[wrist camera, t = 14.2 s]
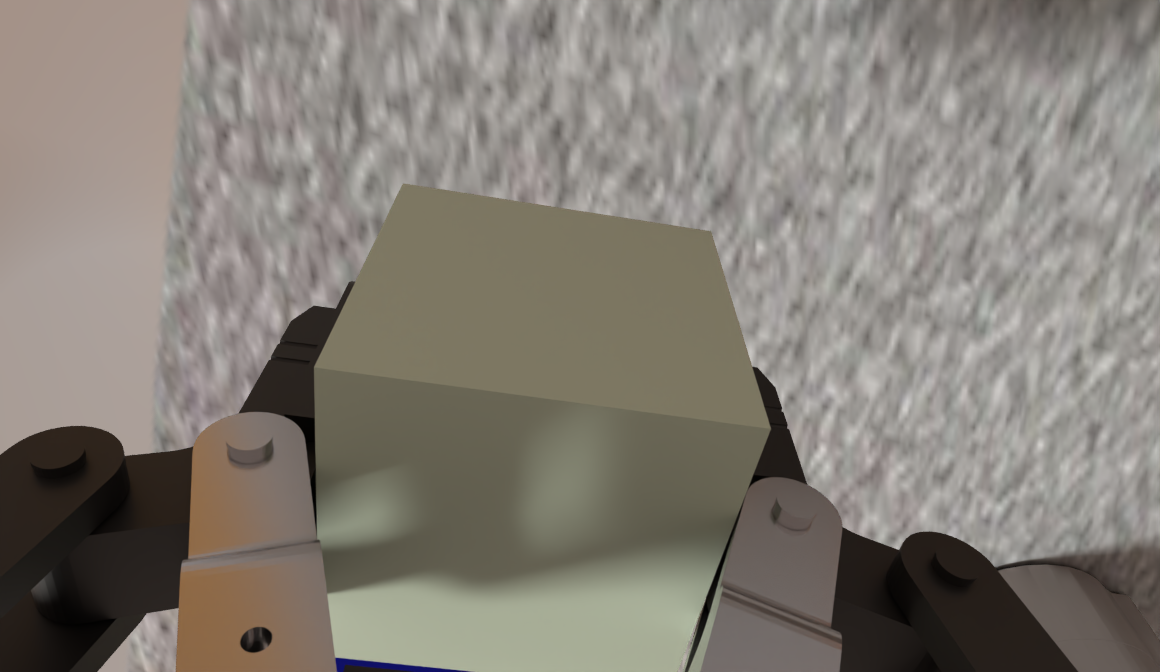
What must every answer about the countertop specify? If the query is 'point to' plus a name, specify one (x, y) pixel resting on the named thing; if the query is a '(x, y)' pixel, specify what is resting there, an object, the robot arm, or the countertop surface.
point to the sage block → (530, 439)
